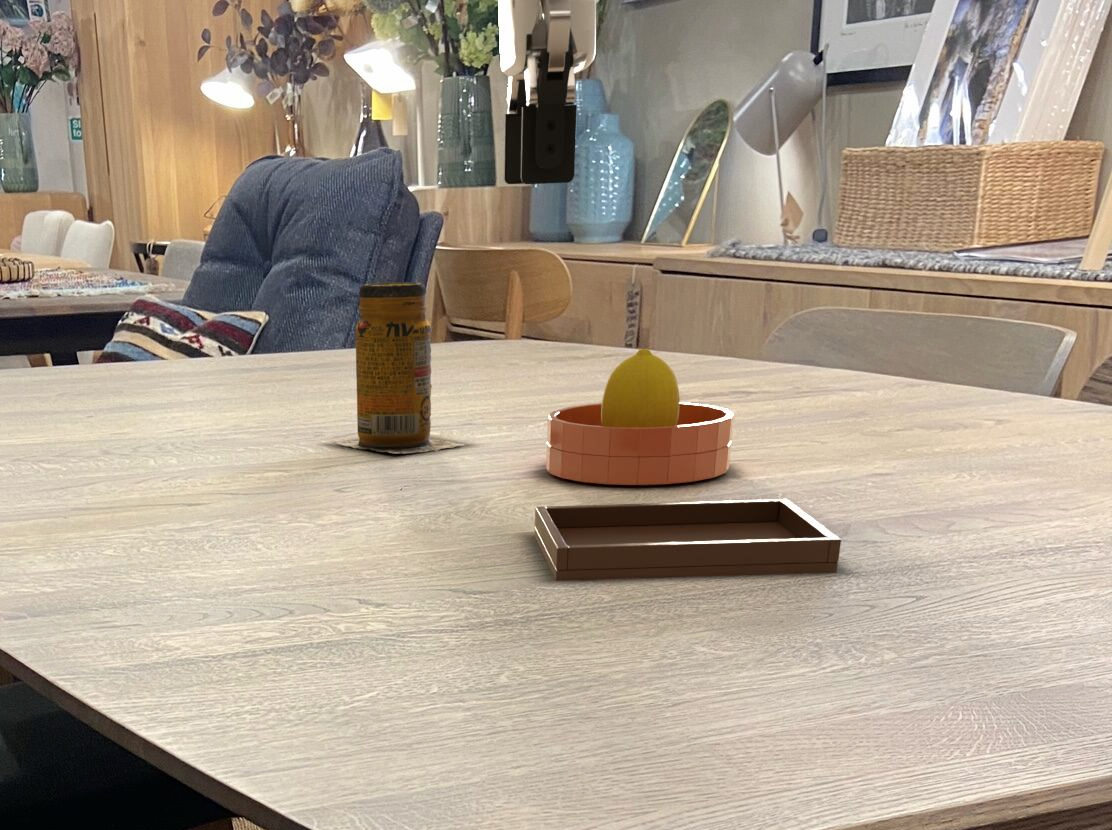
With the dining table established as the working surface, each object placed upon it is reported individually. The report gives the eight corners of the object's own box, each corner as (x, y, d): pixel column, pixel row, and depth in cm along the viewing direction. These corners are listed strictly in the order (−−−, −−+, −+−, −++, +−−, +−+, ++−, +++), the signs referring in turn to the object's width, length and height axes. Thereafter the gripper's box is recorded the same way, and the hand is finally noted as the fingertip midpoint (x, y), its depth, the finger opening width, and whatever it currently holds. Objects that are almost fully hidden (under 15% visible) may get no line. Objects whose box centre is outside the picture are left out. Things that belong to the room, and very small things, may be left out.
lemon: (592, 463, 108) (598, 345, 104) (666, 460, 108) (675, 343, 104) (604, 476, 103) (611, 354, 99) (682, 473, 103) (692, 351, 99)
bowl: (706, 454, 111) (711, 399, 109) (745, 486, 100) (752, 424, 98) (537, 460, 111) (539, 404, 109) (557, 492, 100) (560, 430, 98)
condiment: (404, 435, 123) (402, 279, 117) (466, 447, 117) (467, 282, 111) (333, 445, 120) (328, 285, 114) (394, 458, 114) (391, 289, 108)
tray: (784, 529, 88) (787, 498, 87) (836, 573, 78) (841, 539, 77) (534, 537, 88) (535, 506, 87) (555, 582, 78) (557, 548, 77)
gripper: (637, -193, 76) (619, 180, 85) (586, -131, 91) (575, 181, 100) (495, -187, 76) (491, 186, 85) (468, -126, 91) (467, 185, 100)
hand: (537, 183), depth 92 cm, fingers open, 9 cm apart
